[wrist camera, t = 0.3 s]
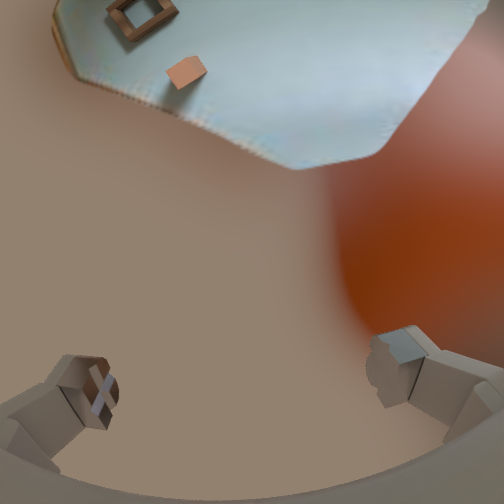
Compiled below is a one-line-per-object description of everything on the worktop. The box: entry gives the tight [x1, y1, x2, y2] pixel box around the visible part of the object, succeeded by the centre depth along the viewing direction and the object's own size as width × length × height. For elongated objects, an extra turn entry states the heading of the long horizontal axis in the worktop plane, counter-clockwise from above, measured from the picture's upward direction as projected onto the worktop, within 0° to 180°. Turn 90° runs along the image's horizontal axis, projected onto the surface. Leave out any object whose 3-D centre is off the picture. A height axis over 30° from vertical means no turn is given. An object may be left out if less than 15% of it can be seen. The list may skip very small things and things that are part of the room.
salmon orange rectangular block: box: [165, 56, 208, 90], centre depth 39 cm, size 4×4×10 cm
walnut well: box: [106, 0, 179, 42], centre depth 32 cm, size 10×10×3 cm
